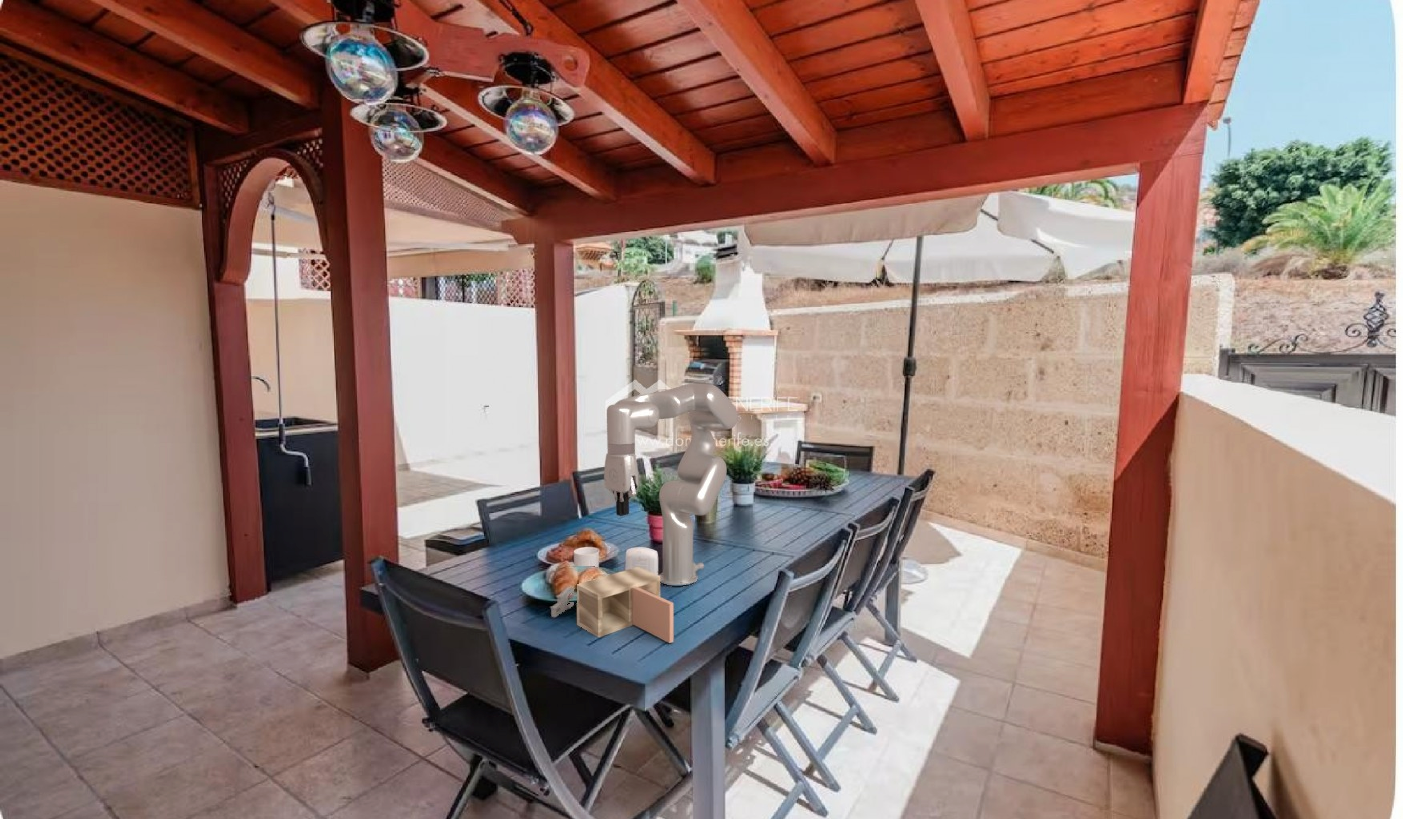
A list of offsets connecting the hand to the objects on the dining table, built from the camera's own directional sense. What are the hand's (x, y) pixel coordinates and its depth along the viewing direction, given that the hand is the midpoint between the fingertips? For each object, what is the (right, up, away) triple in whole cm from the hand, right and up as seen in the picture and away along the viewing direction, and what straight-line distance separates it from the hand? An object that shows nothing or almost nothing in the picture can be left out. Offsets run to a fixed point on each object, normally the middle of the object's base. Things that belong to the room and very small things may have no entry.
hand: (622, 514), depth 174 cm
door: (+10, -27, -14) cm, 32 cm away
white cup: (-14, -25, +22) cm, 36 cm away
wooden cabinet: (0, -27, -6) cm, 28 cm away
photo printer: (+4, -25, +18) cm, 31 cm away
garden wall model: (-16, -27, +1) cm, 31 cm away
